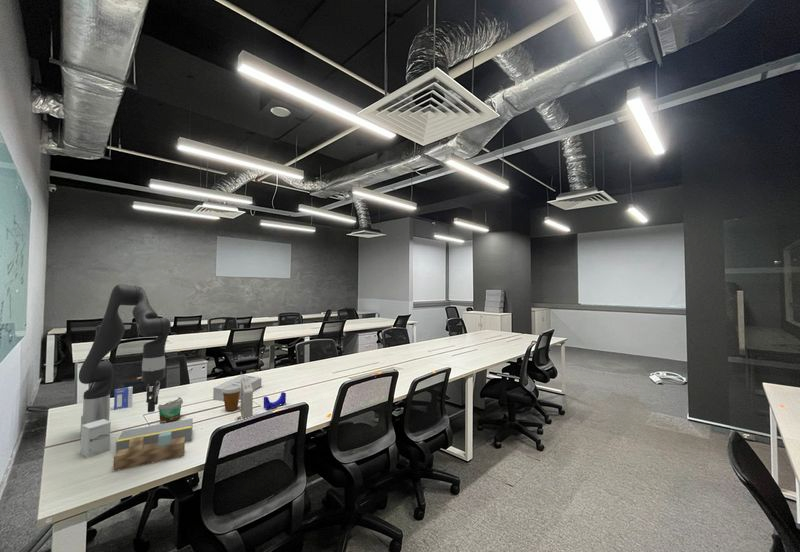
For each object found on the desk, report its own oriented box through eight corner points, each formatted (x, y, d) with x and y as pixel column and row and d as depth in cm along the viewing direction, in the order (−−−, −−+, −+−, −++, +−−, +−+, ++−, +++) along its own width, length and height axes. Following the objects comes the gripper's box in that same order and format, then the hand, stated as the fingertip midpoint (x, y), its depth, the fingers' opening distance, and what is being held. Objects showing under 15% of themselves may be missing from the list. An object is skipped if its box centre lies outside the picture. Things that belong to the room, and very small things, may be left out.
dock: (115, 457, 131) (116, 441, 131) (122, 444, 141) (122, 430, 141) (191, 441, 144) (191, 427, 144) (192, 430, 154) (192, 417, 155)
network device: (257, 430, 155) (257, 389, 155) (237, 434, 151) (237, 392, 151) (252, 412, 177) (253, 376, 178) (234, 415, 173) (235, 378, 173)
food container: (167, 426, 159) (167, 406, 160) (157, 425, 161) (157, 405, 161) (188, 416, 172) (188, 397, 172) (178, 415, 173) (179, 396, 173)
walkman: (114, 411, 178) (114, 389, 178) (114, 410, 180) (114, 388, 180) (132, 407, 184) (133, 386, 184) (132, 406, 186) (132, 385, 186)
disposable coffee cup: (239, 410, 180) (240, 389, 180) (220, 412, 176) (221, 391, 177) (241, 404, 189) (241, 384, 189) (223, 406, 185) (223, 386, 186)
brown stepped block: (113, 473, 120) (113, 457, 120) (116, 466, 125) (117, 450, 125) (183, 457, 131) (183, 442, 132) (184, 451, 136) (184, 436, 136)
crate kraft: (128, 453, 123) (129, 442, 123) (130, 448, 126) (131, 438, 127) (141, 450, 125) (142, 440, 125) (143, 445, 129) (144, 435, 129)
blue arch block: (266, 409, 182) (267, 398, 182) (263, 407, 185) (263, 397, 185) (286, 404, 190) (286, 393, 191) (283, 402, 194) (283, 392, 194)
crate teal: (158, 446, 128) (158, 436, 128) (159, 442, 131) (159, 432, 131) (170, 444, 130) (170, 434, 130) (171, 440, 133) (171, 430, 133)
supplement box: (86, 460, 128) (87, 428, 129) (79, 455, 132) (80, 424, 132) (110, 451, 135) (111, 421, 135) (102, 447, 139) (103, 418, 139)
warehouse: (235, 401, 195) (235, 388, 196) (213, 400, 197) (213, 388, 197) (261, 386, 225) (261, 375, 225) (242, 385, 227) (242, 374, 227)
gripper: (145, 365, 133) (144, 404, 133) (138, 373, 121) (137, 416, 121) (167, 363, 137) (166, 401, 137) (163, 370, 125) (162, 412, 125)
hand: (152, 408), depth 129 cm, fingers open, 8 cm apart
